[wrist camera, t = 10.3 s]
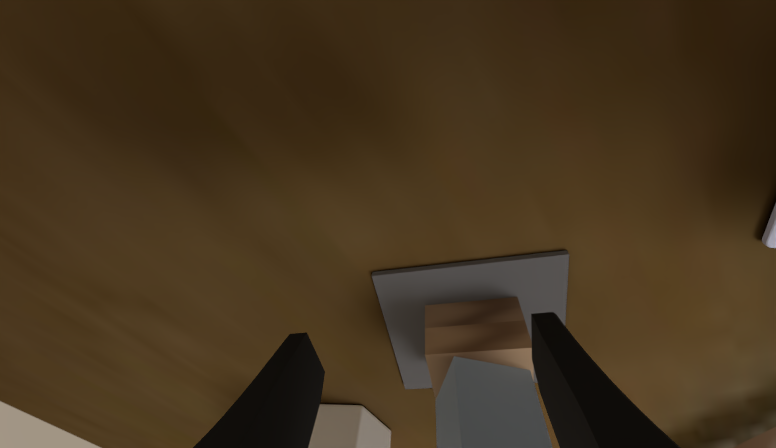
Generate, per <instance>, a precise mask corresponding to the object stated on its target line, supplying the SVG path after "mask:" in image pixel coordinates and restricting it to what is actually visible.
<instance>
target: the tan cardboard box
mask: <svg viewBox="0 0 776 448" xmlns="http://www.w3.org/2000/svg"><path fill="white" fill-rule="evenodd" d="M522 320H525V319H524V316H523V313H522V310H521V307H520V304H519V300H518V297H511V298H500V299H489V300H479V301H468V302H457V303H446V304H435V305H425V328H435V327H448V326H460V325H472V324H485V323H497V322H509V321H522Z"/></svg>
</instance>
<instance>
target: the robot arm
mask: <svg viewBox="0 0 776 448" xmlns="http://www.w3.org/2000/svg"><path fill="white" fill-rule="evenodd" d="M762 242H763V244H765V245H766V246H767V247H770V248H776V203H775V206H774V209H773V211H772V214H771V216H770V219H769V222H768V224H767V227H766V230H765V232H764V235H763V237H762ZM531 332H532V362H533V366H534V370H535V374H536V378H537V382H538V386H539V390H540V393H541V396H542V399H543V402H544V405H545V407H546V410H547V413H548V416H549V418H550V421H551V424H552V427H553V429H554V432H555V435H556V438H557V440H558V443H559V446H560V448H680V447H679V446H678V445H677V444H676V443H675V442H674V441H672V440H671V439H670V438H669V437H668V436H667V435H666V434H665V433H664V432H663V431H662V430H660V429H659V428H658V427H657V426H656V425H655V424H654V423H653V422H652V421H651V420H650V419H649V418H648V417H647V416H646V415H645V414H644V413H642V412H641V411H640V410H639V409H638V408H637V407H636V406H635V405H634V404H633V403H632V402H631V401H630V400H629V399H628V398H627V397H626V395H625V394H624V393H623V392H622V391H621V390H620V389H619V388H618V387H617V386H616V385H615V384H614V383H613V382H612V381H611V380H610V379H609V378H608V376H607V375H606V374H605V373H604V372H603V371H602V370H601V369H600V368H599V366H598V365H597V364H596V363H595V362H594V361H593V360H592V359H591V357H590V356H589V355H588V354H587V353H586V352H585V350H584V349H583V348H582V347H581V346H580V344H579V343H578V342H577V341H576V340H575V338H574V337H573V336H572V334H571V333H570V332H569V331H568V329H567V328H566V327H565V325H564V324H563V323H562V321H561V320H560V319H559V317H558V316H557V314H555V313H554V312H546V313H534V314H531ZM324 373H325V371H324V369H323V367H322V365H321V362H320V360H319V358H318V356H317V354H316V352H315V349H314V347H313V345H312V343H311V341H310V339H309V337H308V334H307V333H296V334H290V335H289V336H288V337H287V338H286V340H285V341H284V342H283V343H282V345H281V346H280V347H279V348H278V350H277V351H276V352H275V354H274V355H273V356H272V357H271V359H270V360H269V361H268V362H267V364H266V365H265V366H264V368H263V369H262V370H261V371H260V373H259V374H258V375H257V376H256V378H255V379H254V380H253V381H252V383H251V384H250V385H249V386H248V388H247V389H246V390H245V391H244V392H243V394H242V395H241V396H240V397H239V398H238V400H237V401H236V402H235V403H234V404H233V405H232V406H231V408H230V409H229V410H228V411H227V412H226V413H225V415H224V416H223V417H222V418H221V419H220V420H219V421H218V422H217V424H216V425H215V426H214V427H213V428H212V429H211V430H210V431H209V432H208V433H207V434H206V435H205V436H204V437H203V438H202V439H201V440H200V441H199V442H198V443H197V444H196V445H195V446H194V447H193V448H308V447H309V443H310V439H311V436H312V432H313V428H314V425H315V421H316V417H317V413H318V409H319V406H320V401H321V395H322V388H323V381H324Z"/></svg>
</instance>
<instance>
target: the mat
mask: <svg viewBox="0 0 776 448" xmlns="http://www.w3.org/2000/svg"><path fill="white" fill-rule="evenodd" d="M568 266H569V253H568V251H567V250H565V251H556V252H547V253H538V254H529V255H520V256H511V257H502V258H493V259H485V260H476V261H467V262H458V263H449V264H440V265H431V266H422V267H413V268H404V269H396V270H387V271H378V272H372V279H373V282H374V286H375V289H376V292H377V296H378V299H379V302H380V306H381V309H382V312H383V316H384V319H385V322H386V326H387V329H388V333H389V336H390V339H391V343H392V346H393V349H394V353H395V356H396V359H397V363H398V366H399V369H400V373H401V376H402V379H403V383H404V386H405V389H419V388H433V387H432V382H431V378H430V374H429V370H428V365H427V361H426V357H425V305H435V304H446V303H457V302H468V301H479V300H489V299H500V298H511V297H518V300H519V304H520V307H521V310H522V313H523V316H524V319H525V323H526V326H527V329H528V332H529V335H530V338H531V342H532V332H531V314H534V313H546V312H554V313H555V314H557V316H558V317H559V319H560V320H561V321H562V323H563V324H564V325H565V318H566V300H567V283H568ZM533 369H534V366H533ZM536 382H537V378H536V374H535V370H534V383H536Z"/></svg>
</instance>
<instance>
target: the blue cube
mask: <svg viewBox="0 0 776 448" xmlns="http://www.w3.org/2000/svg"><path fill="white" fill-rule="evenodd" d="M436 433H437V448H552V444H551V441H550V437H549V434H548V430H547V427H546V423H545V420H544V416H543V413H542V409H541V406H540V402H539V399H538V395H537V392H536V388H535V385H534V381H533V378H532V375H531V371H530V370H527V369H522V368H516V367H511V366H505V365H500V364H494V363H489V362H483V361H478V360H472V359H467V358H461V357H456V356H454V357H453V360H452V362H451V365H450V367H449V369H448V372H447V374H446V377H445V379H444V381H443V384H442V386H441V389H440V391H439V394H438V396H437V398H436Z"/></svg>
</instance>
